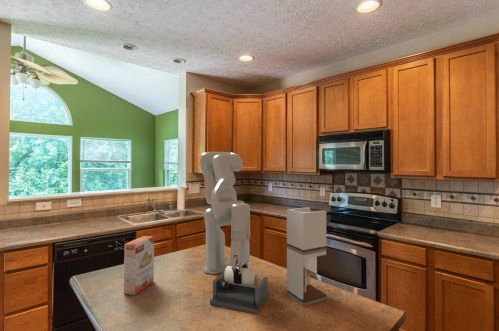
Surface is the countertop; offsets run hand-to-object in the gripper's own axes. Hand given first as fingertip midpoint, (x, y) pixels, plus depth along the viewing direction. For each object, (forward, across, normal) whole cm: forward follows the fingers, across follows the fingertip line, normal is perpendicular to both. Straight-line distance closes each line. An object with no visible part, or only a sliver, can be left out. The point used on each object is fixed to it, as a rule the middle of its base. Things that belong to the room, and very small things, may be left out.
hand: (241, 279), depth 108 cm
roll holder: (+8, 0, 0) cm, 8 cm away
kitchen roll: (-2, 0, 0) cm, 2 cm away
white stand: (+8, -11, +24) cm, 27 cm away
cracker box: (+8, +6, -45) cm, 46 cm away
